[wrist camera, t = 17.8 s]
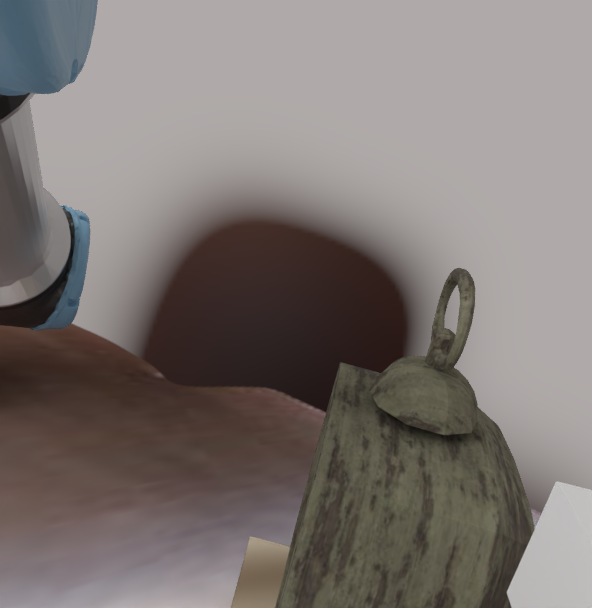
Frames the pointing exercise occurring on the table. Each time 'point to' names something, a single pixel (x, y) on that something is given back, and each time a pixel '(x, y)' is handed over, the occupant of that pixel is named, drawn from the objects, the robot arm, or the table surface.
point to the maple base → (260, 574)
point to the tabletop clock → (409, 489)
